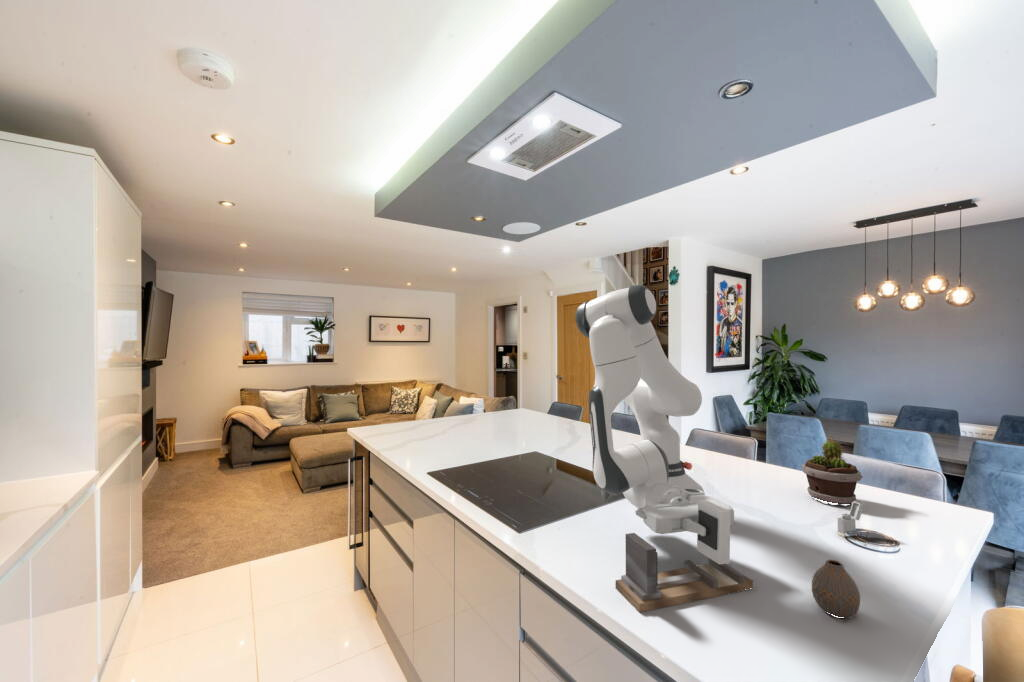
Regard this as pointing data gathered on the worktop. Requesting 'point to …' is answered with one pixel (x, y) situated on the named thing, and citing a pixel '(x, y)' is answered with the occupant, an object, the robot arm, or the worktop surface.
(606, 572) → the worktop surface
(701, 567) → the rail
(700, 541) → the white upright block
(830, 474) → the flowerpot
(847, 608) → the vase
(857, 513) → the lighter
